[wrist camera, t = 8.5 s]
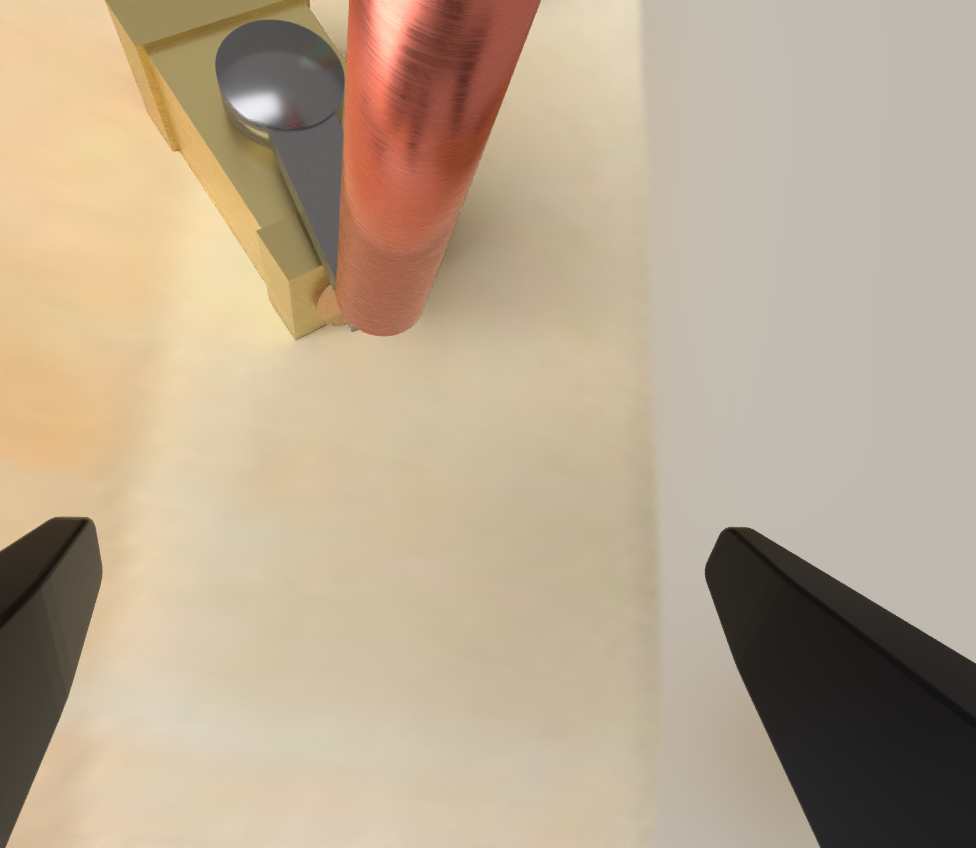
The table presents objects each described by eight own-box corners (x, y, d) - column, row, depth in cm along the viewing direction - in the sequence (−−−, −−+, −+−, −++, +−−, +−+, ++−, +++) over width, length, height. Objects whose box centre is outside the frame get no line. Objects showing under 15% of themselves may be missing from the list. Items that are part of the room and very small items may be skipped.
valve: (433, 281, 22) (459, 214, 18) (302, 350, 20) (296, 293, 16) (282, 53, 23) (273, -63, 19) (141, 102, 21) (96, -13, 17)
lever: (203, 60, 17) (-34, -947, 6) (317, 40, 18) (307, -852, 7) (336, 366, 16) (368, -121, 5) (449, 326, 17) (697, -153, 6)
